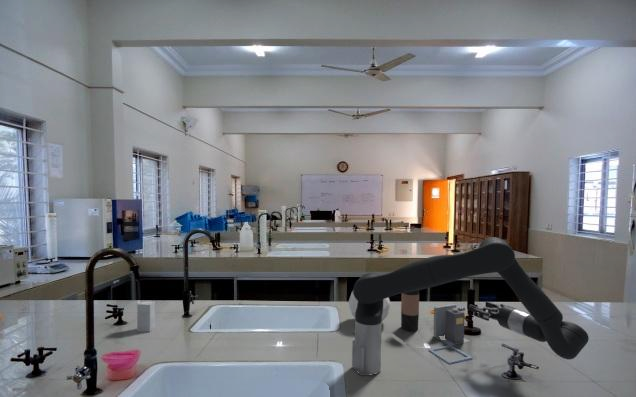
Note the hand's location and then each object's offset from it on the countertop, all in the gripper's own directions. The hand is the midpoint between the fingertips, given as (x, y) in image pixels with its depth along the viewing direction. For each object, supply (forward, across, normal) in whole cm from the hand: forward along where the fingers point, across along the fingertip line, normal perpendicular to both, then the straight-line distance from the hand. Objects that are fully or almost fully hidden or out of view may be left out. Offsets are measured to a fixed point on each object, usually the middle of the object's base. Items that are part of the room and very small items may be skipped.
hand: (477, 305), depth 129 cm
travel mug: (+28, +10, +19) cm, 35 cm away
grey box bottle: (+11, 0, +18) cm, 21 cm away
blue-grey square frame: (+2, +11, +19) cm, 23 cm away
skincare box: (+70, +119, +18) cm, 139 cm away
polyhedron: (+43, +22, +19) cm, 52 cm away
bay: (+12, 0, +19) cm, 23 cm away
